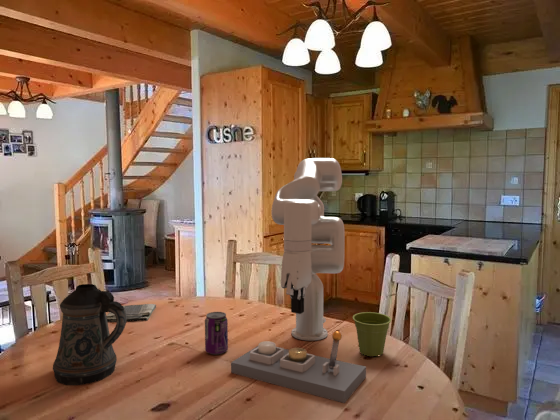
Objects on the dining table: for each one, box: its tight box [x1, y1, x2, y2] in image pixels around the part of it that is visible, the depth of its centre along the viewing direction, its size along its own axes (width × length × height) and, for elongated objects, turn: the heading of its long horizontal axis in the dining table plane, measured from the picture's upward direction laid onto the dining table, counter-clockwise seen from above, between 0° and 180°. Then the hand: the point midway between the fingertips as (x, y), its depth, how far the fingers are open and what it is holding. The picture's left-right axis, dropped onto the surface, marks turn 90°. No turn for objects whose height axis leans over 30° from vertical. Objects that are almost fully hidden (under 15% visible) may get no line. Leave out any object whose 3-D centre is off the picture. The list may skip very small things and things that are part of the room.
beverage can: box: [204, 311, 229, 356], centre depth 138 cm, size 7×7×12 cm
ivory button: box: [257, 340, 277, 355], centre depth 126 cm, size 5×5×2 cm
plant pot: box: [352, 311, 392, 357], centre depth 137 cm, size 12×12×11 cm
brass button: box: [288, 347, 308, 362], centre depth 121 cm, size 5×5×2 cm
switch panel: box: [230, 345, 367, 404], centre depth 122 cm, size 16×34×5 cm, turn 60°
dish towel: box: [106, 303, 157, 323], centre depth 177 cm, size 19×18×3 cm
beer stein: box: [52, 283, 127, 386], centre depth 123 cm, size 16×19×25 cm
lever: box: [329, 330, 342, 370], centre depth 118 cm, size 3×3×10 cm
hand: (297, 312), depth 120 cm, fingers closed
